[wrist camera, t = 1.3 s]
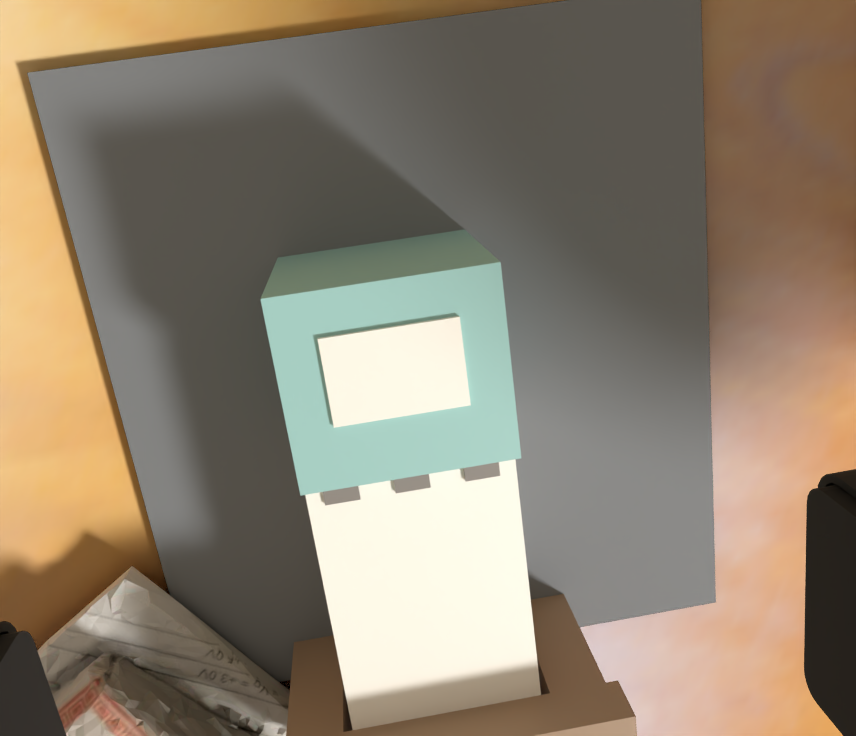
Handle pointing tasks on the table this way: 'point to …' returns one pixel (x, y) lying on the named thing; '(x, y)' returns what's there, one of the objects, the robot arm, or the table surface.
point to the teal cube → (392, 360)
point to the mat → (397, 219)
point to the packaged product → (155, 671)
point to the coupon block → (442, 620)
